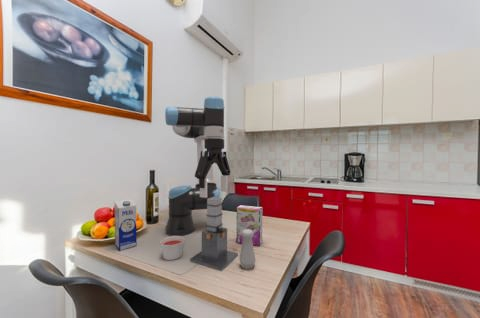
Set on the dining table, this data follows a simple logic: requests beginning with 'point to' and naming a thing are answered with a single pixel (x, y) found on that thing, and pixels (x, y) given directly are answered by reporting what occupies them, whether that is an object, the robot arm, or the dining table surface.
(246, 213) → the candy bar box
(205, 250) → the stand base
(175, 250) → the candle
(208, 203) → the column
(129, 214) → the milk carton
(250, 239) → the salt shaker
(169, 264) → the dining table surface
